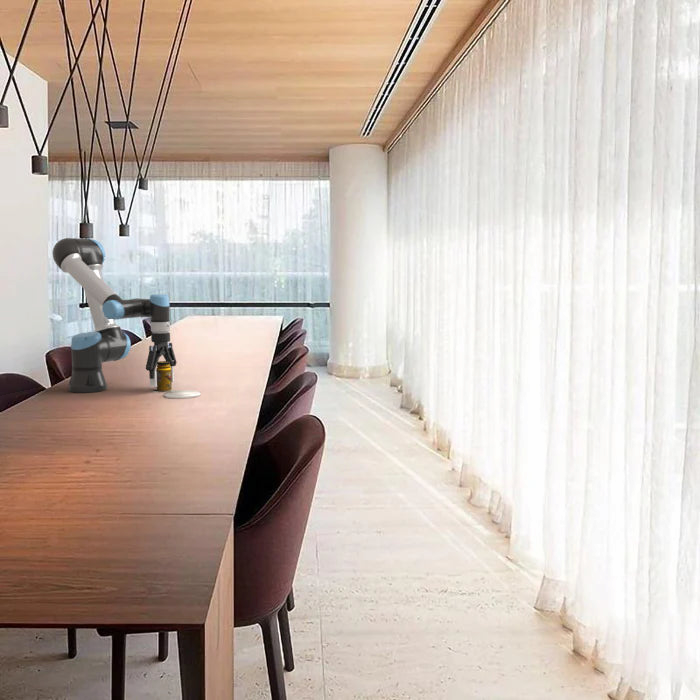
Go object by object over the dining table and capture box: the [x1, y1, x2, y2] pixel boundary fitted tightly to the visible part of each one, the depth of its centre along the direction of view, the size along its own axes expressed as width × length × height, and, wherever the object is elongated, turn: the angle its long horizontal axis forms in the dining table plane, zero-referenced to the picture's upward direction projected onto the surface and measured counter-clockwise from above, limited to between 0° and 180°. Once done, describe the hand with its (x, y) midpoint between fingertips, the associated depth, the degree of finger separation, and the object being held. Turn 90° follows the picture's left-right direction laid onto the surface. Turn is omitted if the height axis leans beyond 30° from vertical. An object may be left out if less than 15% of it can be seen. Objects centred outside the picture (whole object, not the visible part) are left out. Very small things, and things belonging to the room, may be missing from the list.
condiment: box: [149, 360, 176, 394], centre depth 321 cm, size 7×8×12 cm
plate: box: [163, 389, 201, 400], centre depth 310 cm, size 14×14×1 cm
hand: (162, 384), depth 321 cm, fingers open, 12 cm apart
